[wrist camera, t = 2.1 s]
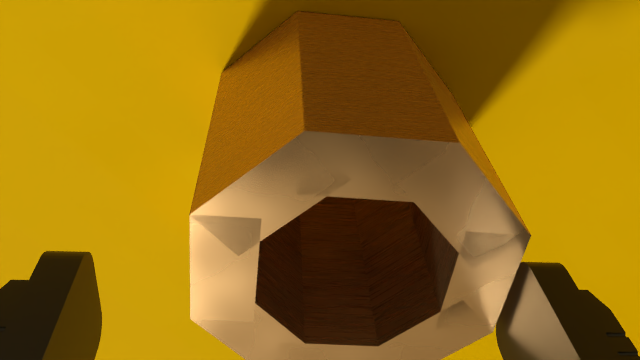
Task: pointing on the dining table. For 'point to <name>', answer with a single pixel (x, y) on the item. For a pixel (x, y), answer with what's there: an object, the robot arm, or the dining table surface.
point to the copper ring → (346, 203)
